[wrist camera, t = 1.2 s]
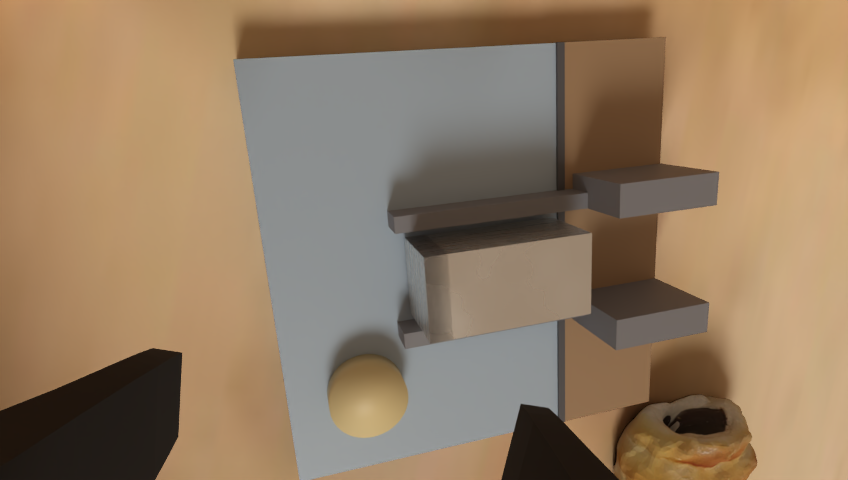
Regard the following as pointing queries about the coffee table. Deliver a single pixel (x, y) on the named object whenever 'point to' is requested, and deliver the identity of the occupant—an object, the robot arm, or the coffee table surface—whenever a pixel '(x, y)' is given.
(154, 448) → the robot arm
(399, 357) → the door board
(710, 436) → the pastry
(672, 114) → the coffee table surface
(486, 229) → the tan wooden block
